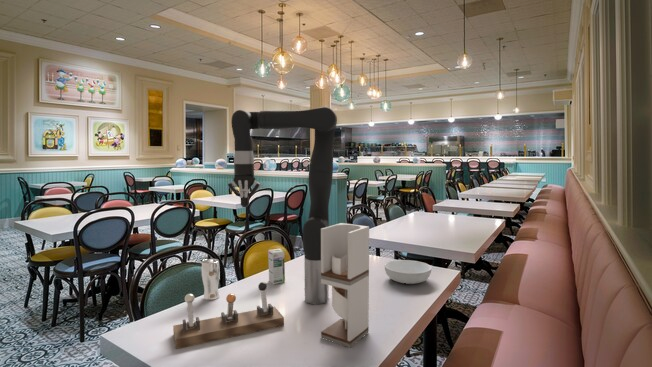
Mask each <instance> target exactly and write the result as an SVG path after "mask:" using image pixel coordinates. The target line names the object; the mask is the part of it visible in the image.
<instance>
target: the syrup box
mask: <svg viewBox="0 0 652 367" xmlns="http://www.w3.org/2000/svg"><path fill="white" fill-rule="evenodd" d="M267 252H268V254H267V257H268V281H269V282H270V283H271V284H272V285H275V284H282V283H285V282H286V275H285V274H286V272H285V270H286V269H285V268H286V267H285V262H286V261H285V251H284V250H283V249H282V248H276V249H275V248H273V249H268V251H267Z"/></svg>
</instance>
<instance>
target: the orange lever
mask: <svg viewBox="0 0 652 367" xmlns="http://www.w3.org/2000/svg"><path fill="white" fill-rule="evenodd" d="M236 299H237V297H236V295H235V294H234V293H229V294H227V295H226V297H225V300H226V302H227V311H226V314H225V316H226V321H231V320H234V312H233V310H234V303H235V302H236Z"/></svg>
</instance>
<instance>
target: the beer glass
mask: <svg viewBox="0 0 652 367" xmlns="http://www.w3.org/2000/svg"><path fill="white" fill-rule="evenodd" d="M220 270H221V269H220V260H219V259H218V258H206V259H203V260H202V261H201V279H202V284H203V290H204V292H203V299H204V301H214V300H217V299H219V298H220V293H219V282H220V276H221V275H220V274H221V271H220Z"/></svg>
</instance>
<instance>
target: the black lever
mask: <svg viewBox="0 0 652 367" xmlns="http://www.w3.org/2000/svg"><path fill="white" fill-rule="evenodd" d="M257 286H258V291H260V298H261V299H260V300H261V309H262V314H267V313H269V307H268V301H267V291H266V290H267V288H268V284H267V283H266V282H265V281H262V282H260V283H259V284H258V285H257Z"/></svg>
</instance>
